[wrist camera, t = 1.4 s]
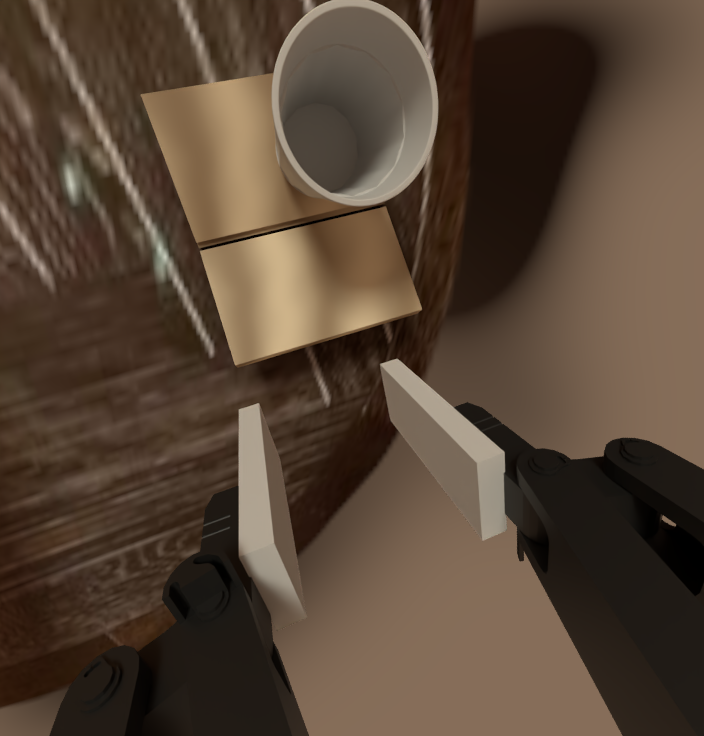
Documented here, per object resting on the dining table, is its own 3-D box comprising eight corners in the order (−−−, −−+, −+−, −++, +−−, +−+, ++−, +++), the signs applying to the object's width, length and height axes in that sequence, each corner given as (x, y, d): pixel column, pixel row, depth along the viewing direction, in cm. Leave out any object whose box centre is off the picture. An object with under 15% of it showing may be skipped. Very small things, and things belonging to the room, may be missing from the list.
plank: (238, 367, 27) (235, 365, 26) (204, 257, 28) (200, 251, 27) (417, 313, 30) (422, 309, 28) (382, 214, 30) (385, 206, 29)
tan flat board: (200, 247, 27) (198, 248, 26) (145, 100, 23) (140, 94, 22) (380, 204, 30) (386, 203, 29) (359, 65, 26) (364, 58, 25)
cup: (367, 209, 30) (433, 204, 19) (269, 212, 28) (281, 208, 17) (366, 92, 27) (444, 7, 16) (256, 86, 25) (260, -14, 14)
